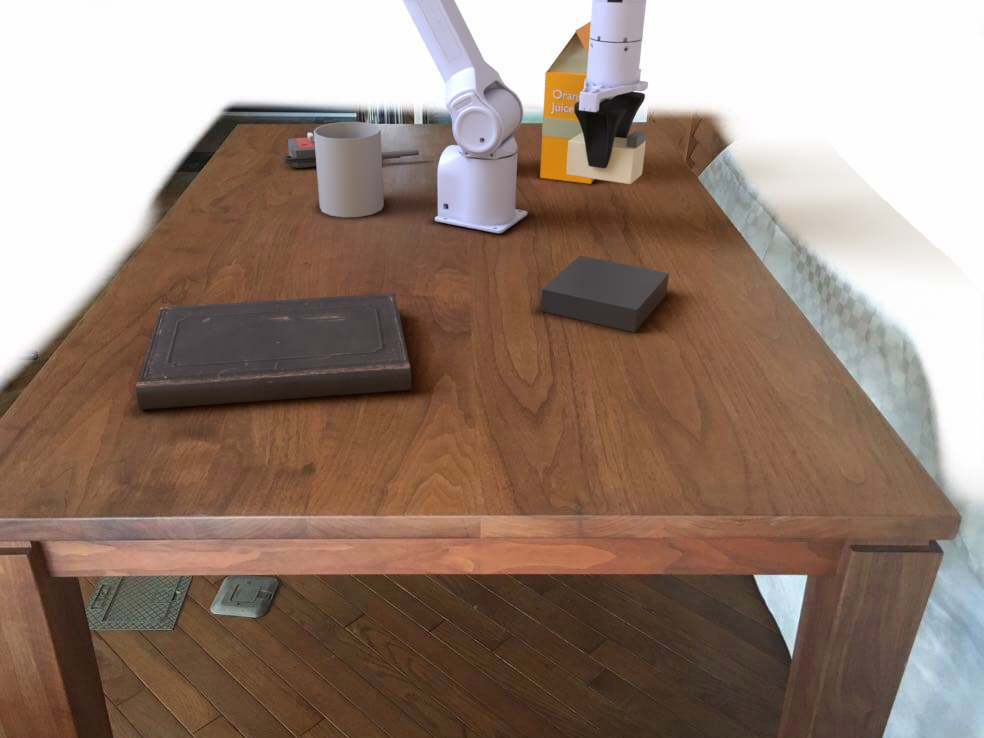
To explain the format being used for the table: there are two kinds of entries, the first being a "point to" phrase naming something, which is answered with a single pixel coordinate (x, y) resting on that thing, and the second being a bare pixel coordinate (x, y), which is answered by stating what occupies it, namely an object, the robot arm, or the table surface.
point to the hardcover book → (274, 351)
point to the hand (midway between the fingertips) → (604, 161)
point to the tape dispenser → (621, 164)
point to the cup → (349, 168)
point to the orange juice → (563, 106)
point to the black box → (605, 293)
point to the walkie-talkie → (305, 152)
